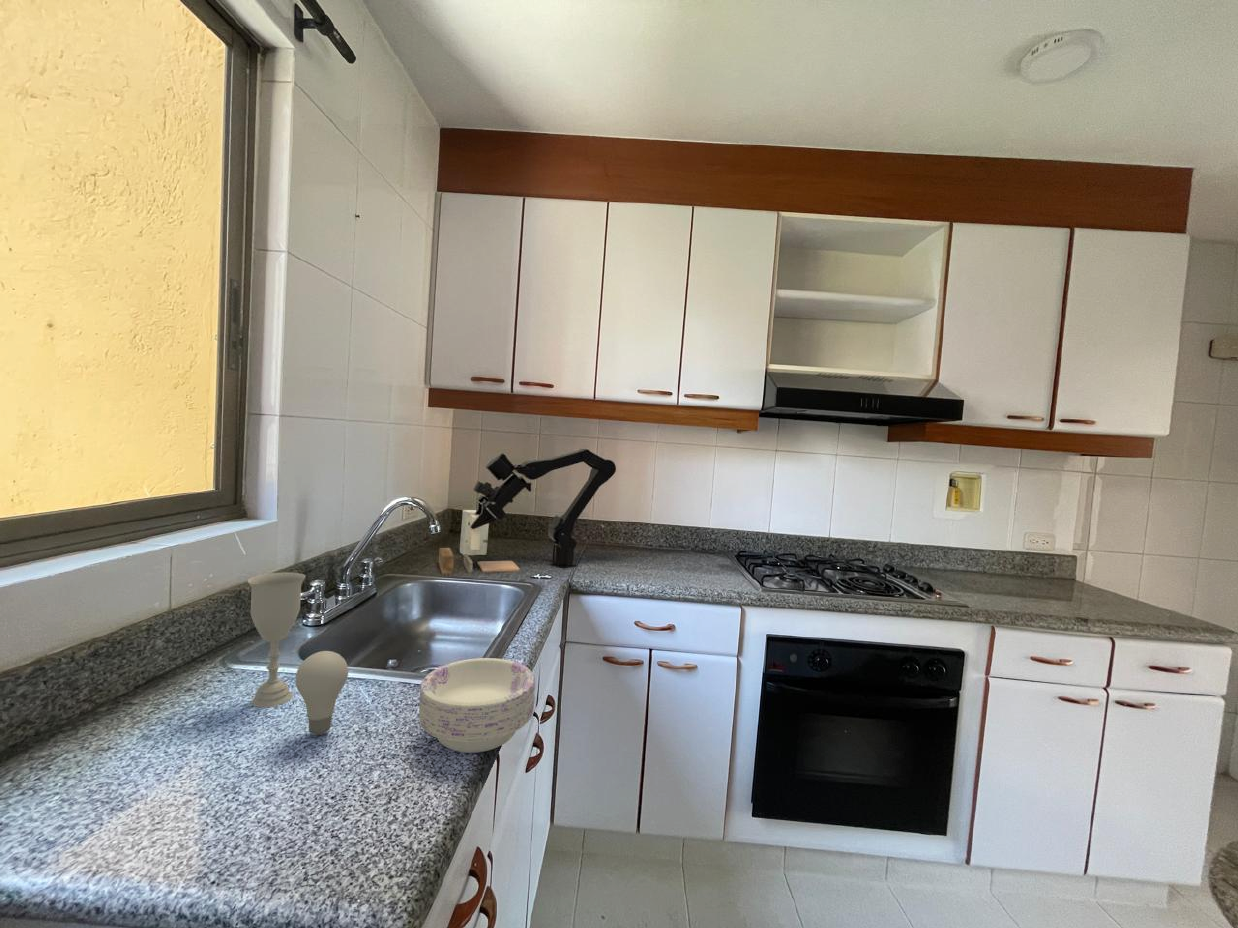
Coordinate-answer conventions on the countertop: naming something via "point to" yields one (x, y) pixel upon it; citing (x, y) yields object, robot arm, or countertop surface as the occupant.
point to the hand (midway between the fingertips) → (470, 526)
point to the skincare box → (465, 536)
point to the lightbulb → (321, 687)
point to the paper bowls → (476, 703)
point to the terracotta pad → (498, 566)
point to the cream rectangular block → (474, 534)
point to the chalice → (274, 626)
